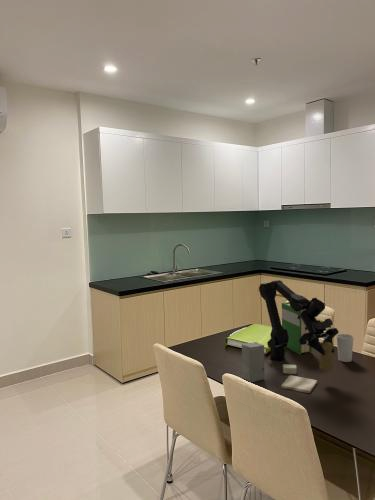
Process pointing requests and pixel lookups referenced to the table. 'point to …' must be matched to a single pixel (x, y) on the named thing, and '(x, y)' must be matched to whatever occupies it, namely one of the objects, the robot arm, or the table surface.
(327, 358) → the cork
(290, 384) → the board
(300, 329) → the hardback book
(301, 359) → the table surface
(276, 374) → the table surface
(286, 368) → the soap bar
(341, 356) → the cup
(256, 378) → the skincare box
